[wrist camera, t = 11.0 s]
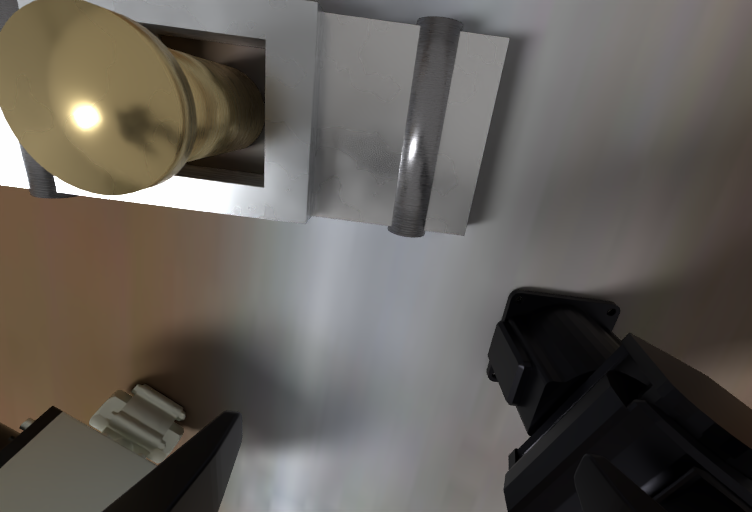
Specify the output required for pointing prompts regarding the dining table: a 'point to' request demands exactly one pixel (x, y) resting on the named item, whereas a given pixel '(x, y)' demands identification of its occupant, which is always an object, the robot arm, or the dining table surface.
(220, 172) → the silver plate
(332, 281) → the dining table surface
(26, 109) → the brass knob
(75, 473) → the pneumatic valve
